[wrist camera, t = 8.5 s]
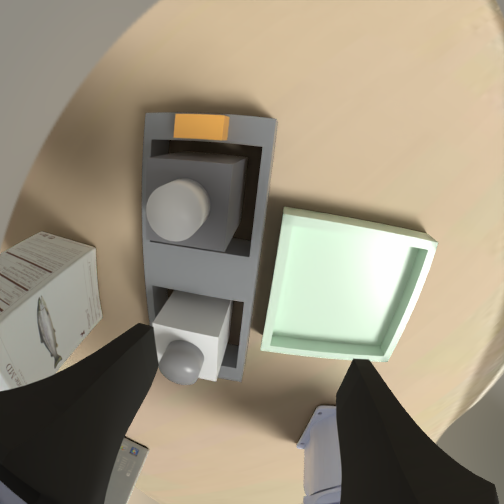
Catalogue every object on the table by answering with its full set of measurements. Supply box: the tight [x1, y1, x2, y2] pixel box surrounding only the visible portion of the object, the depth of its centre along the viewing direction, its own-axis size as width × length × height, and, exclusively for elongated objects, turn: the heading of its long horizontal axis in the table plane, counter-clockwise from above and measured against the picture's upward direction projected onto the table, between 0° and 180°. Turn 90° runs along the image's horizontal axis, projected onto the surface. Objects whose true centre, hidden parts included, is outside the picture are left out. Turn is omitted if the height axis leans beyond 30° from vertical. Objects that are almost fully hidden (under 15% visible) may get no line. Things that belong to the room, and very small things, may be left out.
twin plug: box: [152, 290, 233, 385], centre depth 18 cm, size 4×4×6 cm
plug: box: [146, 151, 248, 252], centre depth 14 cm, size 4×4×6 cm
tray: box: [261, 207, 438, 362], centre depth 18 cm, size 10×10×2 cm
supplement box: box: [0, 231, 103, 391], centre depth 15 cm, size 7×7×13 cm
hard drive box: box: [104, 438, 149, 504], centre depth 27 cm, size 16×8×20 cm, turn 153°
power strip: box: [142, 112, 278, 382], centre depth 17 cm, size 18×7×4 cm, turn 174°
